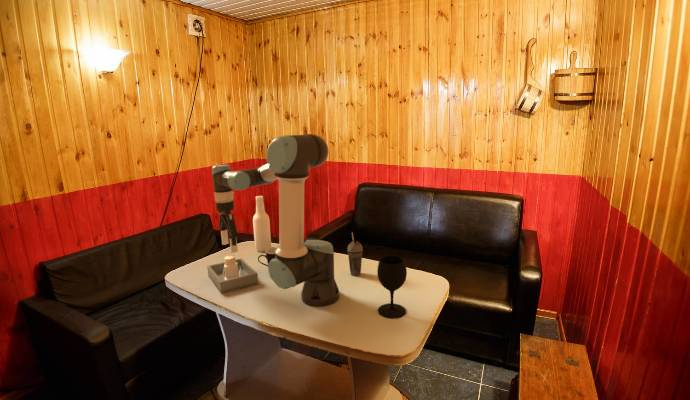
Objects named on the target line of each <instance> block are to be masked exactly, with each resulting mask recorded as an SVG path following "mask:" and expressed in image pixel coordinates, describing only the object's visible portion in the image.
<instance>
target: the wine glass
mask: <svg viewBox="0 0 690 400" xmlns="http://www.w3.org/2000/svg"><path fill="white" fill-rule="evenodd" d="M376 270H377V279H378V281H379V283H380V284H381V286H383V288H384V289H385V290H387V291H389V294H390V296H389V297H390V302H389V303H384V304H382V305H379V306H378V309H377V312H378V315H380V316H381V317H383V318H387V319H400V318H402V317H404V316H405V315H406V314H407V309H406V308H405V307H404V305H401V304H398V303H394V295H395V294H394V293H395V292H396V291H398V290H400V288H402V286H403V285H404V284H405V283H406V279H407V275H408V273H407V271H408V270H407V265H406V261H405V259H404V258H403V257H401V256H400V255H399V256H398V255H385V256H382V257H380V259H379V261H378V264H377V269H376Z"/></svg>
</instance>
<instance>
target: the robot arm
mask: <svg viewBox="0 0 690 400" xmlns="http://www.w3.org/2000/svg"><path fill="white" fill-rule="evenodd" d="M328 157H329V146H328V143H327V142H326V141H325V139H324V138H322V137H321V136H320V135H317V134H313V133H308V134H290V135H289V134H288V135H287V134H286V135H283V136H282V135H281V136H277V137H275V138H274V139H272V140H271V142H270V143H269V145H268V147H267V150H266V164H263V165H260V166H259V167H255V168H248V169H246V168H245V169H240V170H232V169H231V166H230V164H217V165H213V166H212V167H211V176H212V182H213V190H214V192H213V193H214V201H215V210H216V211H217V212H218V214H219V215H218V228H219V230H220V235H221V237H220V238H221V245H222V246H225V245H228V244H229V246H230V247H229V248H230V253H231V254H234V253H238V252H239V251H238V250H239V249H238V239H237V238H238V237H239V235H238V230H237V227H236V226H237V225H236V222H235V218H234V217H235V216H234V213H231V211H234V209H235V201H234V194H235V192H234V191H244V190H246V189H247V188H253V187H257V186H263V185H265V186H266V185H270V184H273V183H275V181H276V180H277V181H278V219H279V220H278V223H279V224H278V230H279V231H278V233H279V234H278V235H279V236H278V237H279V238H278V241H279V245H278V246H277V248H276V247H275V248H276V249H275V259H272V260H271V261H270V262H269V264H268V263H267V265H268V266H267V268H268V274H269V276H270V278H271V280H272V281H273V282H274V284H275V285H276V286H277V287H278V288H280V289H283V290H287V289H291V288H294V287H296V286H298V285H300V284H302V283H303V285H302V289H301V292H300V293H301V294H300V295H301V297H300V298H301V301H302V303H304V304H306V305H308V306H312V307H325V306H329V305H332V304H334V303H336V302H337V301H338V300H339V299H340V290H339V287H338V284H337V282H336V279H335V255H334V254H335V252H334V246H333V244H332V243H331V242H329V241H326V240H322V239H320V240H319V239H312V240H306V241H305V240H304V239H305V181H306V180H307V179H308V178H309V177H310V169H314V168H317V167H320V166H322V165H323V164H324V163H326V160H327V159H328Z"/></svg>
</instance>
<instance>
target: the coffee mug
mask: <svg viewBox="0 0 690 400" xmlns="http://www.w3.org/2000/svg"><path fill="white" fill-rule="evenodd" d="M277 247H278V246H277ZM277 247H271V248H270V249H267V250H266V251H265V252H264V253H265V254H261V255H258V257H257V262H259V264H261V265H264V266H266V267H268V264H269V262H270V261H271V260H272V259H275V249H276V248H277ZM260 257H265V259H266V262H267V264H266V263H264V262H262V261H261V260H260Z"/></svg>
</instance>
